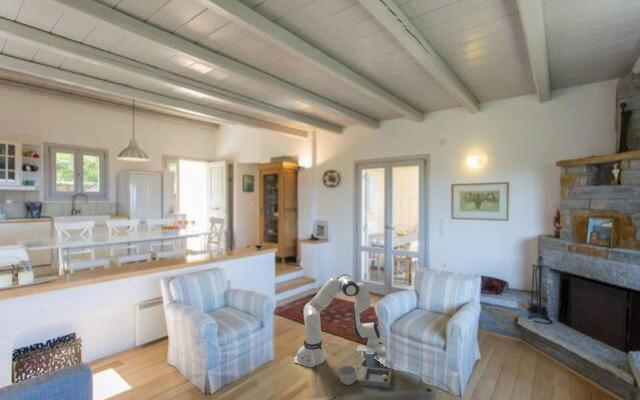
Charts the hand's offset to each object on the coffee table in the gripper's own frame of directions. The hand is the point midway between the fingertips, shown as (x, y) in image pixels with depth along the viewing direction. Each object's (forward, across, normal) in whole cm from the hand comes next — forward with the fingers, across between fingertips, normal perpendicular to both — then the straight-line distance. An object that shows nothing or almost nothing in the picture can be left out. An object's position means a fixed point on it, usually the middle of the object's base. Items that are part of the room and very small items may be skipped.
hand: (370, 357), depth 212 cm
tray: (+13, +6, +6) cm, 16 cm away
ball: (+13, +10, +4) cm, 17 cm away
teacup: (+17, -10, +7) cm, 21 cm away
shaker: (-1, 0, +6) cm, 7 cm away
